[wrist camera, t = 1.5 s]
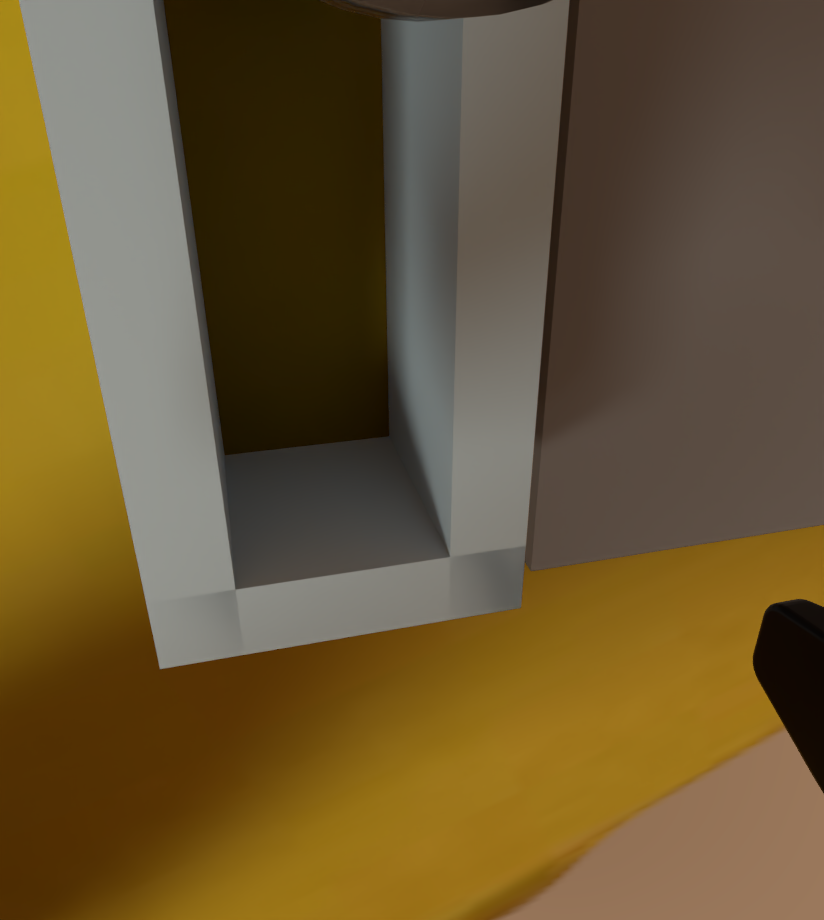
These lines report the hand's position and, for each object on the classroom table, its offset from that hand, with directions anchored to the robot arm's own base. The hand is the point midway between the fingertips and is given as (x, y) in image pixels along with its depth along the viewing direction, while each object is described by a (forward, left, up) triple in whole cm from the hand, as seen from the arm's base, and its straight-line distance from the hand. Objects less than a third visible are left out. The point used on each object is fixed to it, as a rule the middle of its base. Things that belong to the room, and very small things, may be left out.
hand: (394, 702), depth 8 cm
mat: (+3, -10, -8) cm, 13 cm away
